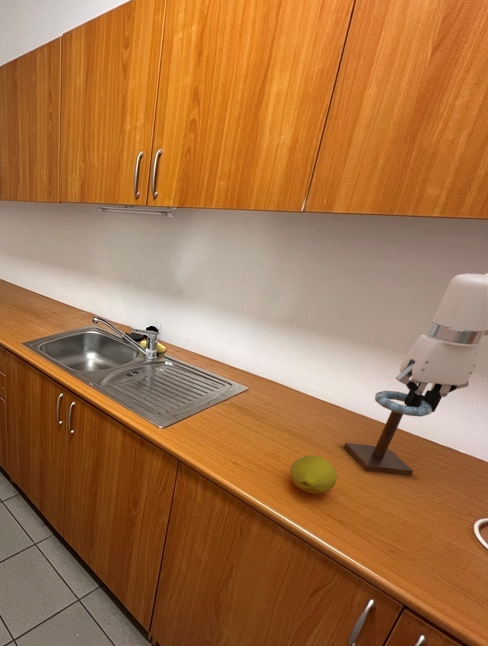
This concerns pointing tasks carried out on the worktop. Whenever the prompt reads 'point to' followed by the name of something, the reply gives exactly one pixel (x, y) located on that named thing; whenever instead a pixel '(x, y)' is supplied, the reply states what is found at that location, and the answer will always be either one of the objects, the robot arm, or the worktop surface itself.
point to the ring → (398, 408)
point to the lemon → (313, 474)
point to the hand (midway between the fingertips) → (418, 407)
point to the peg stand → (380, 451)
